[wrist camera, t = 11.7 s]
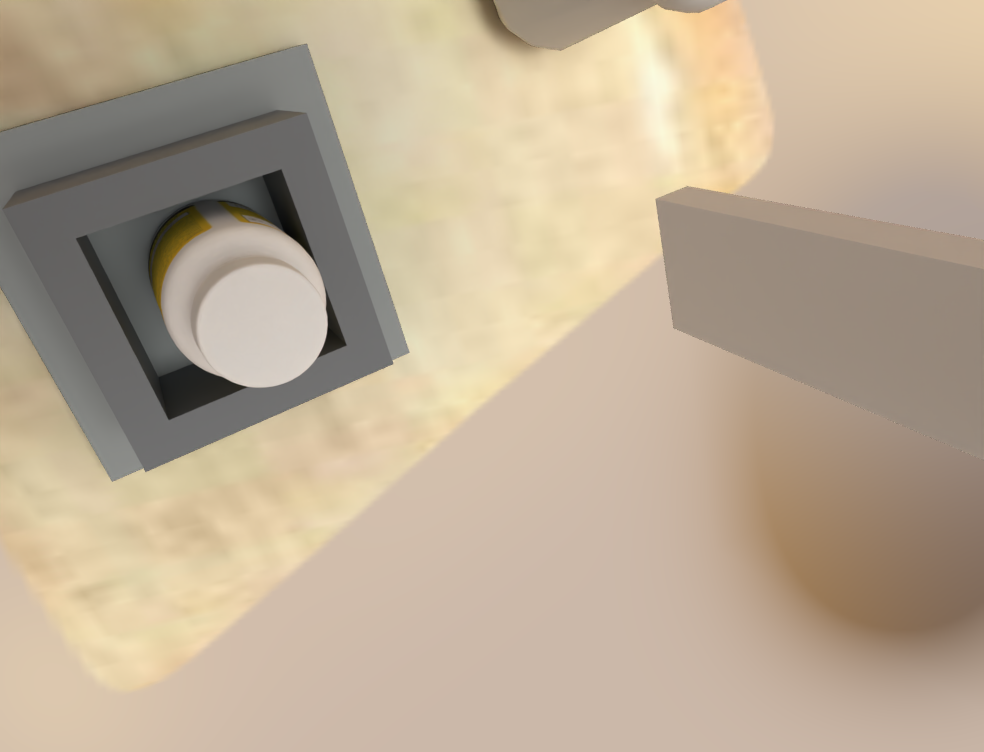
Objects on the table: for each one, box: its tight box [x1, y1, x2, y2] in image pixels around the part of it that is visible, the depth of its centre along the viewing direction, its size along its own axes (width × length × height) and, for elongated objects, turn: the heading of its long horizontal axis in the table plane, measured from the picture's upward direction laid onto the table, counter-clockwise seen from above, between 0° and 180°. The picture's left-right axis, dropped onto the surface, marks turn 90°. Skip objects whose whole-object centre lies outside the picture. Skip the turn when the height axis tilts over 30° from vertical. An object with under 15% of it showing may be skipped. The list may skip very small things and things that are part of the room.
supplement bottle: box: [148, 200, 328, 388], centre depth 28 cm, size 5×5×10 cm
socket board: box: [0, 44, 409, 482], centre depth 30 cm, size 14×14×6 cm
